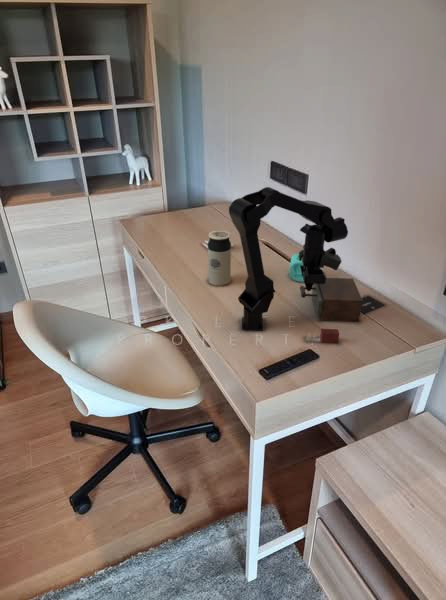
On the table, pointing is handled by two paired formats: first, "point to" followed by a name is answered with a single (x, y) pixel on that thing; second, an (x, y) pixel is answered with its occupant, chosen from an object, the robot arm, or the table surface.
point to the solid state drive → (370, 304)
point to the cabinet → (340, 300)
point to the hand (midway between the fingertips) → (308, 290)
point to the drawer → (314, 298)
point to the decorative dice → (296, 268)
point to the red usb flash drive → (326, 336)
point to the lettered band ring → (207, 242)
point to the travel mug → (219, 258)
